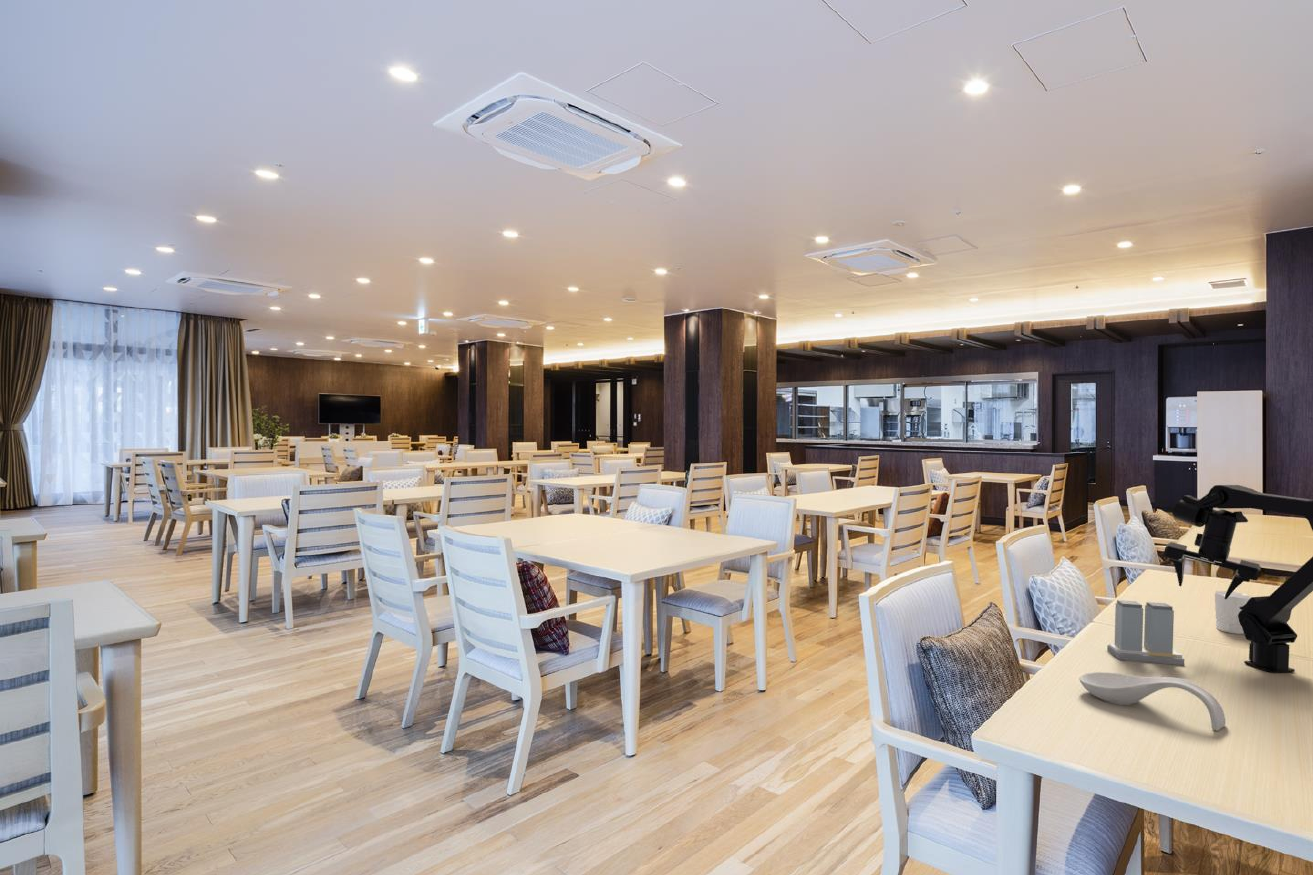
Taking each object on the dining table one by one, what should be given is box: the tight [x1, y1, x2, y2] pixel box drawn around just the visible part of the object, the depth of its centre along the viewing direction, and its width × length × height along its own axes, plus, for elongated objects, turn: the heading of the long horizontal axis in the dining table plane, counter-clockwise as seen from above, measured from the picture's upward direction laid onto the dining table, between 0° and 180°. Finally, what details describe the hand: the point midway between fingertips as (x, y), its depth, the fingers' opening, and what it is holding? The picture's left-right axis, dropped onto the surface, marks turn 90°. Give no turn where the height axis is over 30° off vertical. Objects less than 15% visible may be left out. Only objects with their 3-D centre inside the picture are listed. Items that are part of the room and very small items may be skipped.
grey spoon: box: [1078, 671, 1226, 732], centre depth 137 cm, size 24×12×7 cm, turn 38°
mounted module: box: [1114, 599, 1144, 651], centre depth 168 cm, size 4×4×11 cm
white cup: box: [1214, 590, 1253, 635], centre depth 192 cm, size 8×8×10 cm
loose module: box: [1143, 601, 1175, 654], centre depth 167 cm, size 4×4×11 cm
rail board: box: [1106, 643, 1185, 666], centre depth 167 cm, size 14×7×2 cm, turn 76°
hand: (1202, 592), depth 176 cm, fingers open, 9 cm apart
